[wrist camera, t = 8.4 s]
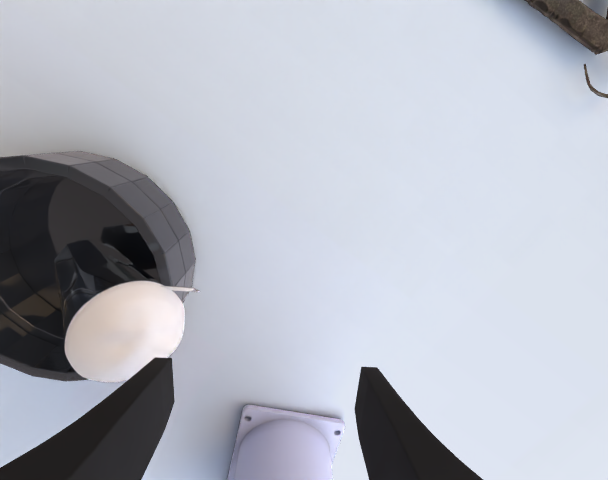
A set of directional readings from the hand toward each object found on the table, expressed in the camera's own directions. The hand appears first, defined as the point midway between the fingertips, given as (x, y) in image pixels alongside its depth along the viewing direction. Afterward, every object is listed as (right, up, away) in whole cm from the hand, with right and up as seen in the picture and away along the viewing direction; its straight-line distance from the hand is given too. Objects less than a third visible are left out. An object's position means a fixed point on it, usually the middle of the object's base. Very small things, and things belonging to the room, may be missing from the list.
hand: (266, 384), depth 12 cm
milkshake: (-11, +5, +7) cm, 14 cm away
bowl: (-12, +5, +8) cm, 15 cm away
